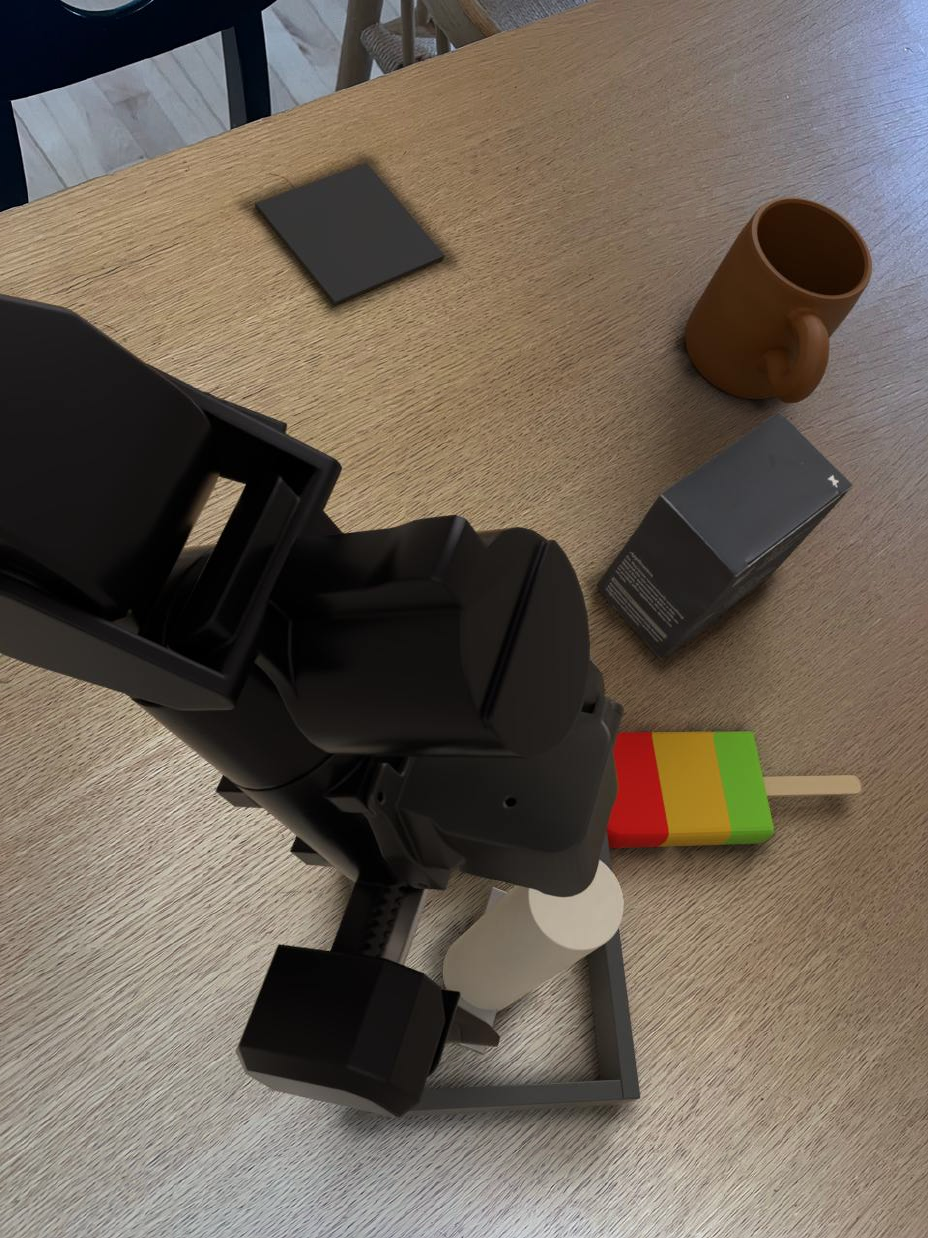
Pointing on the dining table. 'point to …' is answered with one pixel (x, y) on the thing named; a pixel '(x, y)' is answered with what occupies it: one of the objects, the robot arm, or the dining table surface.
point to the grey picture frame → (611, 1090)
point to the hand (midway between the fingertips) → (522, 924)
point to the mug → (778, 301)
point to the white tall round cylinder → (528, 943)
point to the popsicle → (700, 790)
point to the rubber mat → (349, 232)
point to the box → (721, 533)
